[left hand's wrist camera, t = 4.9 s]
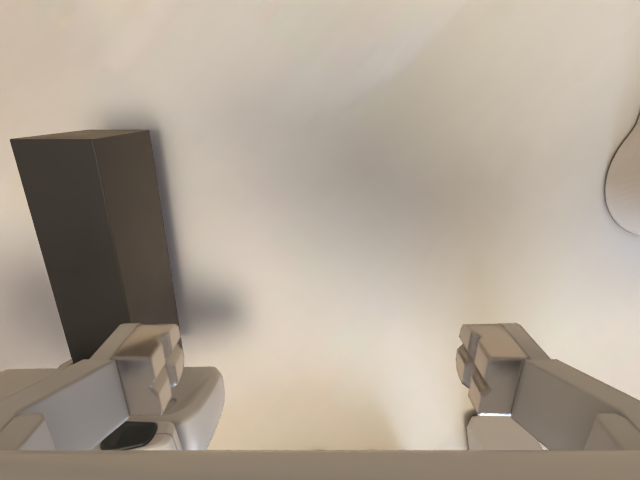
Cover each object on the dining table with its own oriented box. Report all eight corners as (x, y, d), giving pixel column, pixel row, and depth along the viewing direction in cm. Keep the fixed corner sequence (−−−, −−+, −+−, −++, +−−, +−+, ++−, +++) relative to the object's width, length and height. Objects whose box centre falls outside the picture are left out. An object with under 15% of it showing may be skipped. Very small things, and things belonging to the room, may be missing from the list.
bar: (87, 129, 34) (8, 139, 25) (149, 129, 34) (92, 139, 25) (134, 355, 43) (89, 421, 34) (183, 354, 43) (150, 419, 34)
